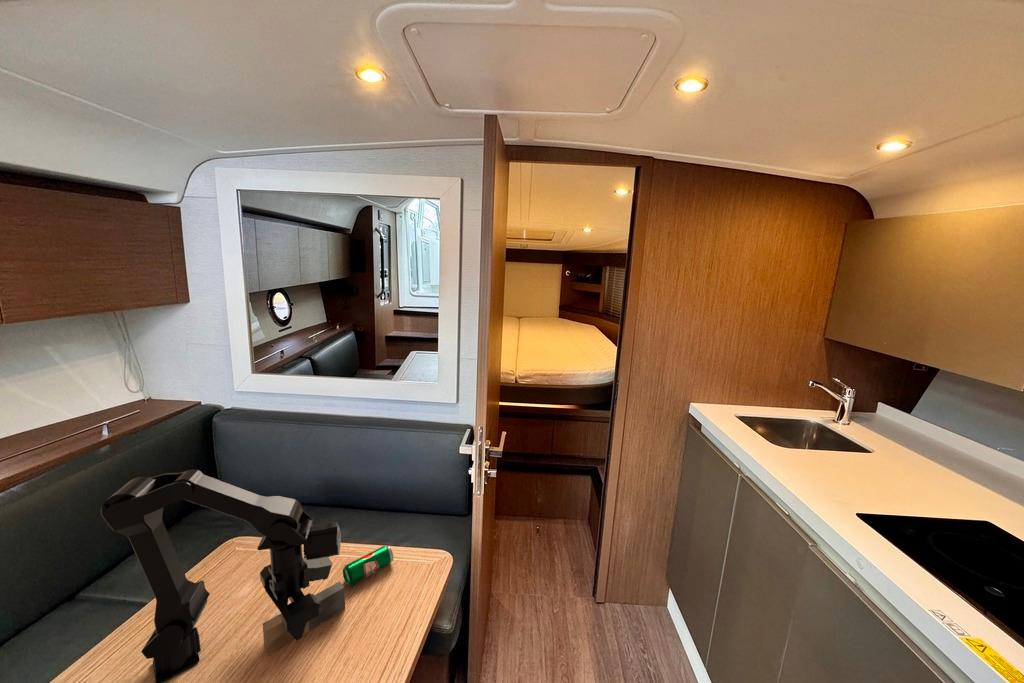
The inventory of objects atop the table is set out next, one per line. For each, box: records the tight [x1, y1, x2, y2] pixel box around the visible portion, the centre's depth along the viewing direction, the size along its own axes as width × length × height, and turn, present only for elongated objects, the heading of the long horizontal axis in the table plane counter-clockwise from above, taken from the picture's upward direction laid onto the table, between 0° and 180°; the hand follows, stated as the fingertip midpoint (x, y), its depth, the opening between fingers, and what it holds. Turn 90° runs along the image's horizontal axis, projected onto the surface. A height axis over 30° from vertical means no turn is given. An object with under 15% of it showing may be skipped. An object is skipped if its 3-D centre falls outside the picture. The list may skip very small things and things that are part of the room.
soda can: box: [342, 545, 394, 586], centre depth 102 cm, size 5×5×12 cm
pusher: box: [262, 580, 346, 657], centre depth 85 cm, size 16×2×6 cm, turn 137°
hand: (291, 624), depth 83 cm, fingers open, 9 cm apart
